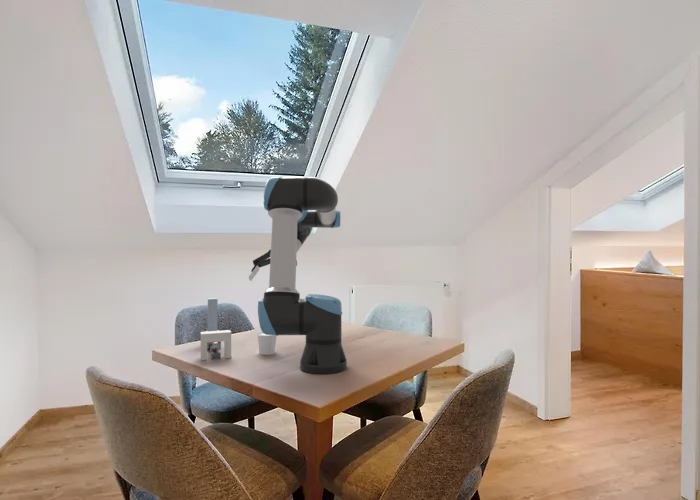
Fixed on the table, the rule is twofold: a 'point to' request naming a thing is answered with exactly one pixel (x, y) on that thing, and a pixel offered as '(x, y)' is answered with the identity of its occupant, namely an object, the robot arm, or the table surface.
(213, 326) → the carriage
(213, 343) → the plunger
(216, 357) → the rail
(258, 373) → the table surface
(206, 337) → the arch
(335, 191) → the robot arm
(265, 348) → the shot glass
